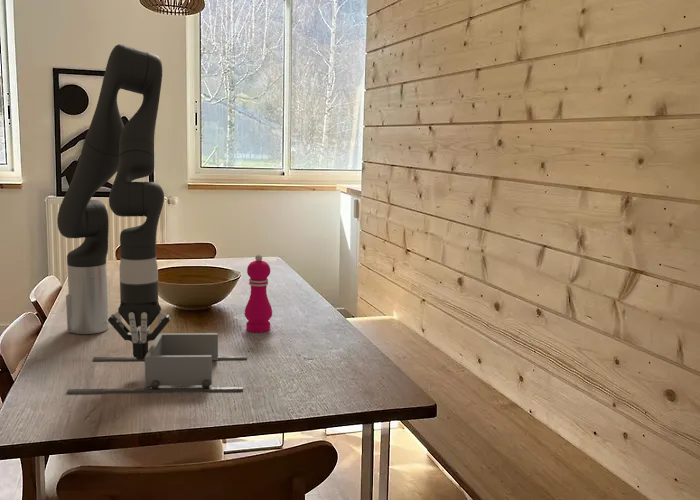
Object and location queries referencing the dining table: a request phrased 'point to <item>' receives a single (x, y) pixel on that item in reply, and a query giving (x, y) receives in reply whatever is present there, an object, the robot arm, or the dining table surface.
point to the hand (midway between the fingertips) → (141, 358)
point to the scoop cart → (181, 359)
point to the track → (142, 390)
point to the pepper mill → (258, 297)
